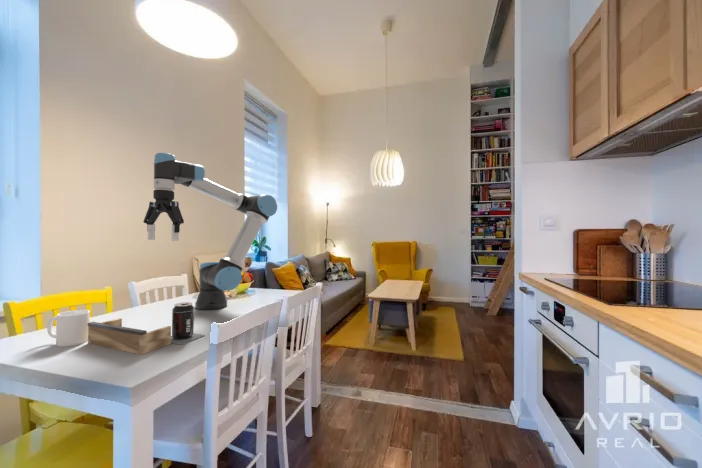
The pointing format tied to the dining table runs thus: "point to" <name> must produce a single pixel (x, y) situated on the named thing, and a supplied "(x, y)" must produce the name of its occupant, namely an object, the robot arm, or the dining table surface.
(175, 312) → the beverage can
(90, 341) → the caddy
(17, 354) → the dining table surface
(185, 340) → the mat
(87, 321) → the cup
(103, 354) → the dining table surface
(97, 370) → the dining table surface
